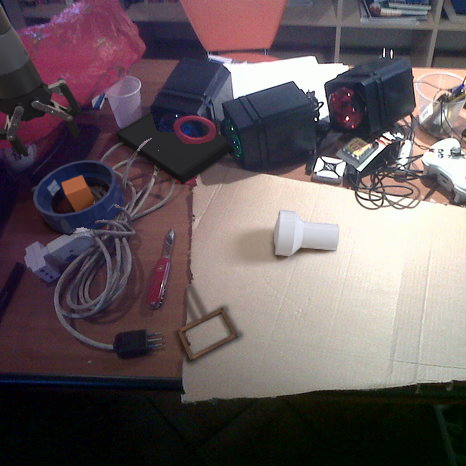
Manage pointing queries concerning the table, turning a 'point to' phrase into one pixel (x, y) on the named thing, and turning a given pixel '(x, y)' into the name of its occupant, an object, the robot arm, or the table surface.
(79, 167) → the blue plastic ring
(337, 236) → the spotlight
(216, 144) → the external hard drive
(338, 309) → the table surface
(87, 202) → the block
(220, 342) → the wooden frame tray
